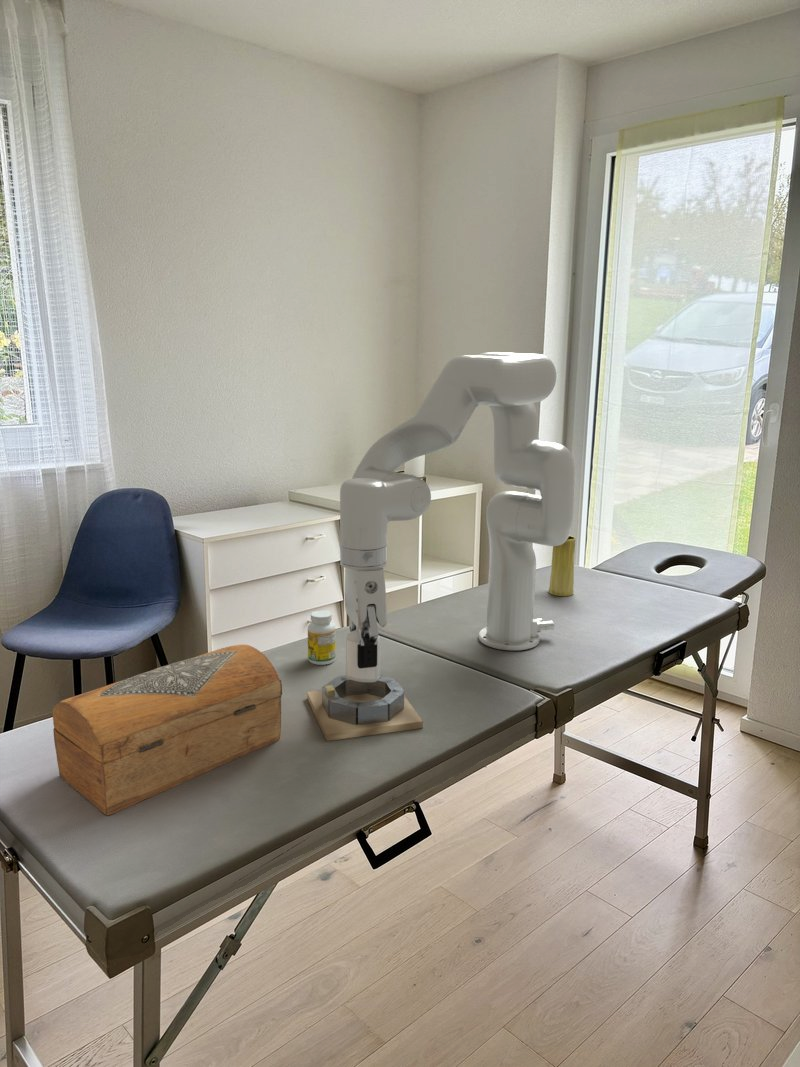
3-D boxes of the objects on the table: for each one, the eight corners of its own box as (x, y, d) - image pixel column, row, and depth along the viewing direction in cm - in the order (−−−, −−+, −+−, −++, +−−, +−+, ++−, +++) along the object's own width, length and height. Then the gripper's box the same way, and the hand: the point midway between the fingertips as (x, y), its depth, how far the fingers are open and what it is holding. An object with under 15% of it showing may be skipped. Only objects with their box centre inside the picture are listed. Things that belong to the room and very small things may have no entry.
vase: (575, 596, 201) (579, 540, 197) (550, 596, 201) (554, 540, 197) (570, 589, 207) (574, 534, 203) (546, 588, 207) (549, 533, 203)
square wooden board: (394, 687, 149) (394, 681, 148) (422, 728, 134) (422, 721, 134) (307, 698, 144) (307, 691, 144) (326, 741, 129) (326, 734, 129)
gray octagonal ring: (388, 685, 147) (389, 665, 146) (411, 718, 135) (411, 695, 134) (317, 694, 143) (316, 673, 142) (333, 728, 131) (333, 705, 130)
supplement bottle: (338, 664, 159) (337, 617, 157) (310, 667, 157) (310, 619, 155) (332, 653, 164) (331, 608, 162) (305, 656, 162) (304, 610, 160)
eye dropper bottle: (364, 687, 134) (364, 617, 131) (342, 676, 138) (342, 609, 135) (383, 680, 137) (384, 612, 134) (362, 669, 141) (362, 603, 138)
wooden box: (225, 707, 141) (221, 631, 137) (285, 741, 130) (283, 659, 126) (51, 773, 119) (42, 684, 116) (106, 819, 108) (98, 723, 105)
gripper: (401, 568, 126) (399, 678, 130) (372, 541, 141) (371, 640, 146) (353, 571, 123) (353, 683, 128) (329, 543, 139) (330, 644, 143)
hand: (363, 659), depth 137 cm, fingers closed on eye dropper bottle, 4 cm apart
